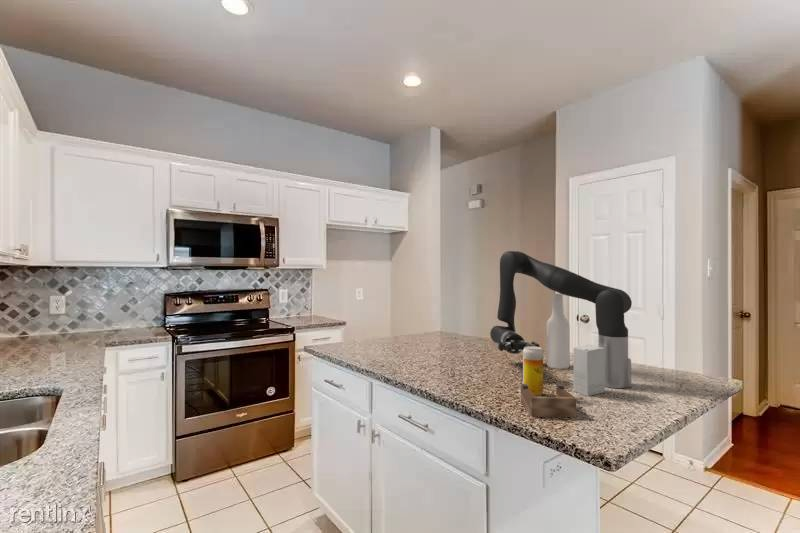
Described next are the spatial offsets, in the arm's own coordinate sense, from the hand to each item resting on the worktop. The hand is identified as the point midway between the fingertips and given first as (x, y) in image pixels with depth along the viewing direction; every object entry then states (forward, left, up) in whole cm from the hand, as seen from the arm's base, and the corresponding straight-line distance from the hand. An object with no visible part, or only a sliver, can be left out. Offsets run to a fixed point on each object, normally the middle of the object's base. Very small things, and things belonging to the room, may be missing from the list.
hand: (523, 350), depth 143 cm
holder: (0, +25, -12) cm, 27 cm away
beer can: (0, +11, -12) cm, 17 cm away
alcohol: (-21, -27, -12) cm, 36 cm away
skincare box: (-19, +8, -12) cm, 24 cm away
